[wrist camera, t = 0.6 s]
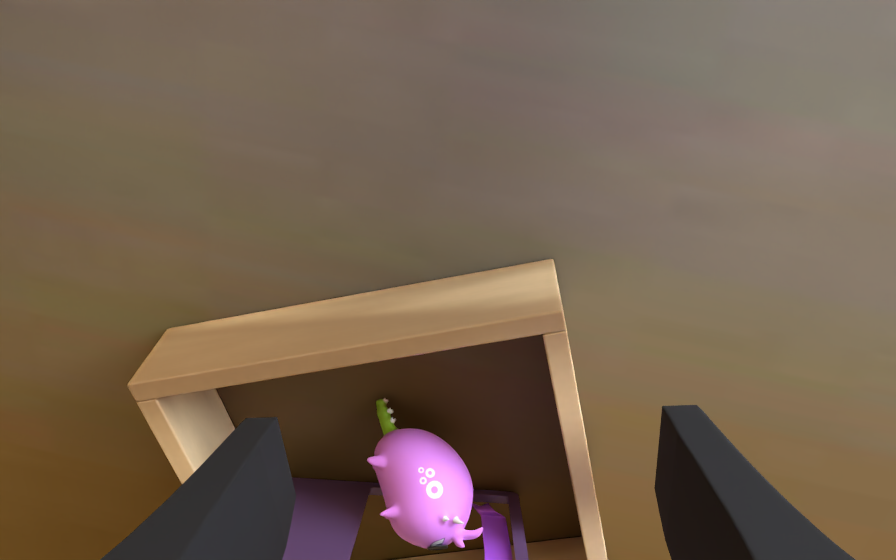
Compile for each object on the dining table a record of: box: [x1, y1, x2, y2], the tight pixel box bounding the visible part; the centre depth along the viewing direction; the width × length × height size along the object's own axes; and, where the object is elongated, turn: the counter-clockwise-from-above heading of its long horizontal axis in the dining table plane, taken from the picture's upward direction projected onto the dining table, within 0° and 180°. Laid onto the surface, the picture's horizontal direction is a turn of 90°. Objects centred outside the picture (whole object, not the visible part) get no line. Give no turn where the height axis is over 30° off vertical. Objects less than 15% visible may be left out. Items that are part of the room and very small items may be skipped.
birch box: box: [127, 259, 608, 560], centre depth 25 cm, size 13×13×3 cm
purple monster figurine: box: [282, 398, 529, 560], centre depth 24 cm, size 7×5×9 cm
